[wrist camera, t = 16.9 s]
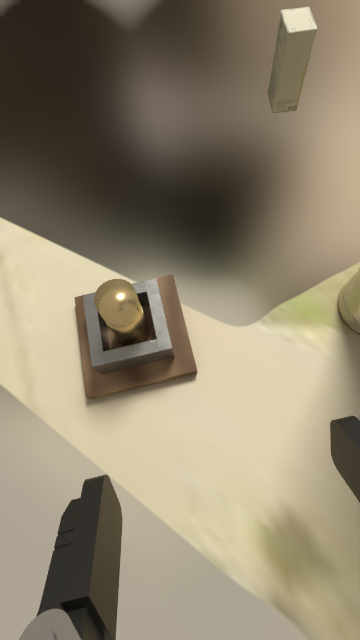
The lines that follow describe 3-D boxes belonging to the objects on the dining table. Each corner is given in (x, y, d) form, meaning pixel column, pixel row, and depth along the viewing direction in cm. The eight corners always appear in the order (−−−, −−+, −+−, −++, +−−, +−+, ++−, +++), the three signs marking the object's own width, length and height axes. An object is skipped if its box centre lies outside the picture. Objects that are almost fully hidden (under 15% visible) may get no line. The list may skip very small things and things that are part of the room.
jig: (173, 279, 47) (170, 258, 42) (197, 372, 41) (196, 362, 36) (78, 301, 46) (63, 283, 41) (90, 398, 41) (74, 391, 36)
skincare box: (296, 111, 58) (319, 29, 46) (271, 114, 58) (288, 33, 47) (290, 88, 60) (310, 5, 49) (265, 90, 60) (280, 8, 49)
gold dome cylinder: (146, 313, 43) (131, 274, 34) (153, 343, 42) (140, 311, 32) (113, 321, 43) (91, 284, 34) (119, 351, 41) (97, 322, 32)
